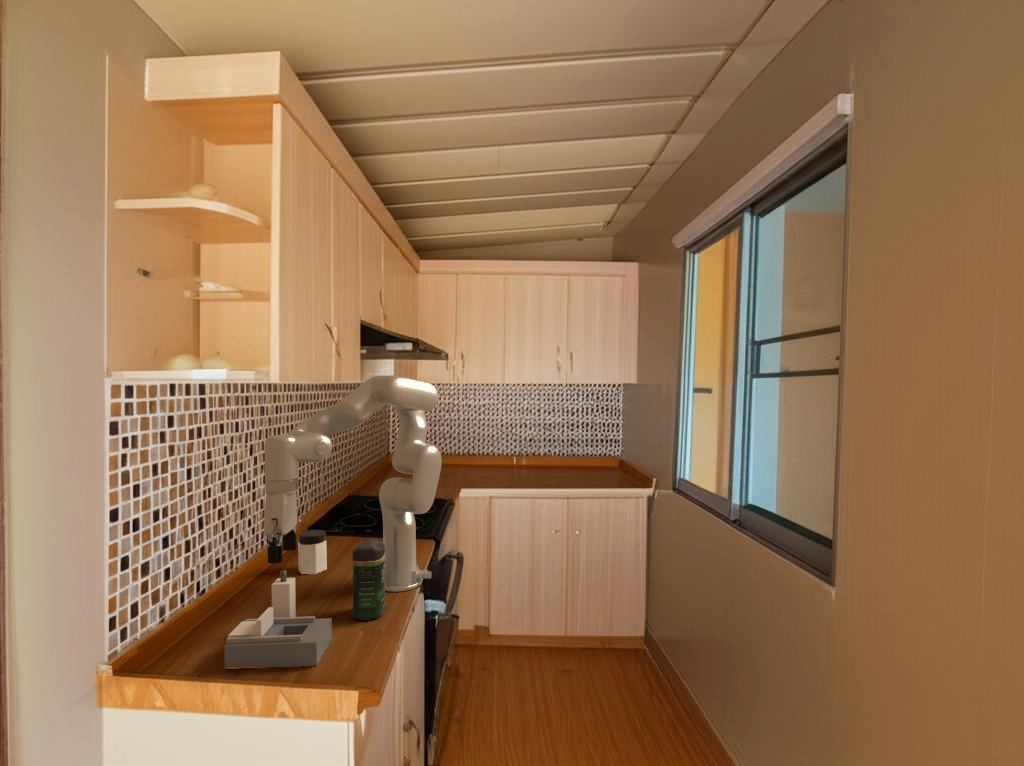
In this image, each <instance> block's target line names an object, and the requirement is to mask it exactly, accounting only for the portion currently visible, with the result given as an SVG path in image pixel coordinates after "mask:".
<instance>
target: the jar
mask: <svg viewBox="0 0 1024 766" xmlns="http://www.w3.org/2000/svg"><path fill="white" fill-rule="evenodd" d="M327 548H328V547H327V540H326V531H325V530H322V529H311V530H305V531H302V532H300V533H299V534H298V542H297V550H298V551H297V552H298V553H297V555H298V558H297V560H298V563H297V564H298V571H299V573H300V574H301V575H302V574H308V575H317V573H318V574H320V573H322V571H323V572H325V571H327V570H328V564H327V563H328V560H327V559H328V558H327V557H328V554H327V552H328V551H327ZM324 570H325V571H324ZM319 572H320V573H319Z"/></svg>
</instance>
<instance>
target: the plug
mask: <svg viewBox="0 0 1024 766" xmlns="http://www.w3.org/2000/svg"><path fill="white" fill-rule="evenodd" d="M287 572H288V571H287V570H285V569H283V570H280V573H279V575H280V576H279V577H278V578H277V579H275V581H273V582H272V583H271V585H270V586H271V607H273V618H283V617H297V609H296V608H297V606H296V605H297V604H296V601H297V600H296V595H297V594H296V577H288V575H287Z"/></svg>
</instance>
